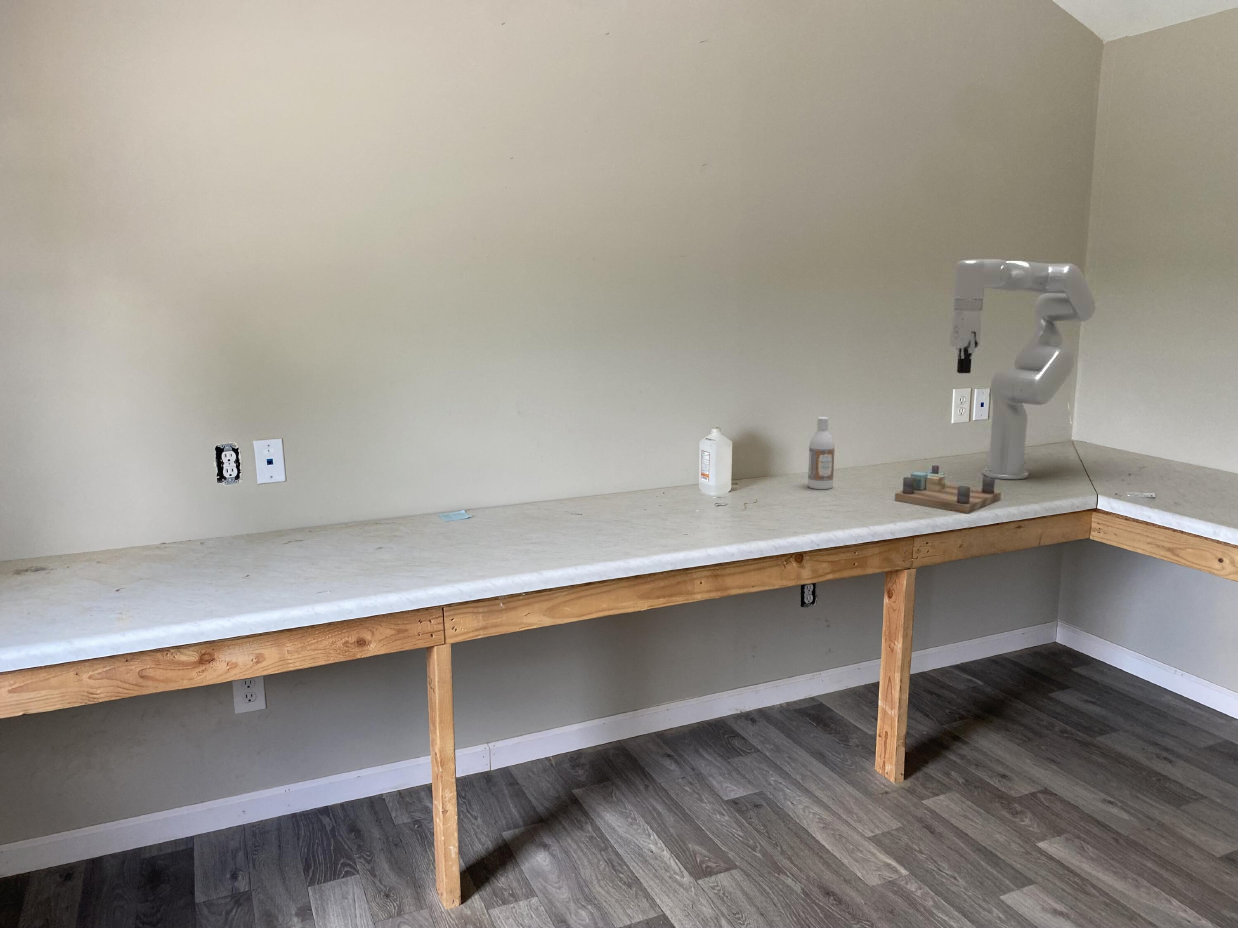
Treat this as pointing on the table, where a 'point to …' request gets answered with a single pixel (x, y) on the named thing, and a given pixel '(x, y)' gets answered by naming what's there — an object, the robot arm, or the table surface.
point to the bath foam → (821, 457)
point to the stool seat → (948, 493)
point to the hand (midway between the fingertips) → (963, 372)
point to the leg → (922, 479)
